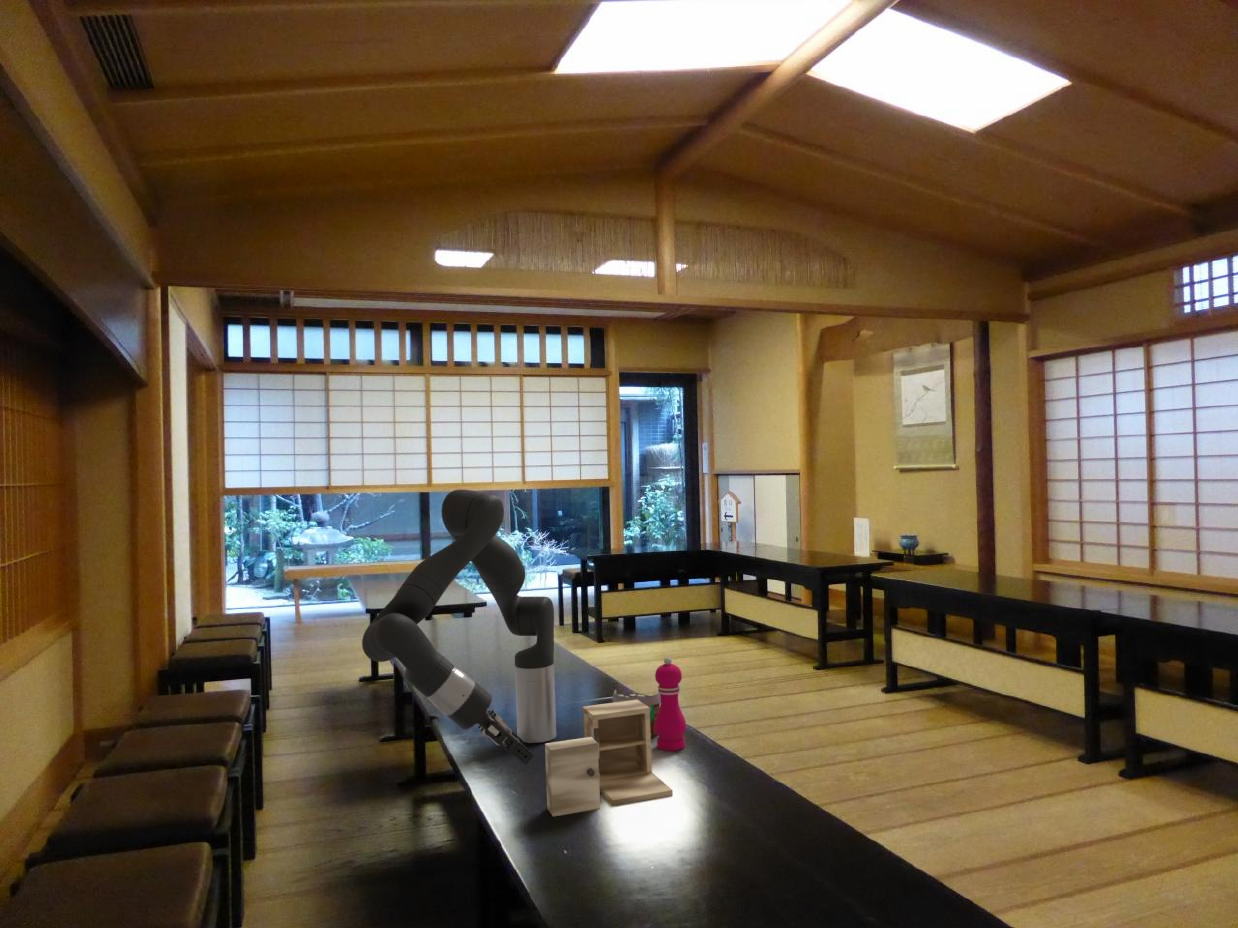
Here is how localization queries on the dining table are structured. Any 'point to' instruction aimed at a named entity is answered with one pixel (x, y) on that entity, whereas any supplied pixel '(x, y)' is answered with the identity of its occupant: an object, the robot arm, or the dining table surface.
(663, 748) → the pepper mill
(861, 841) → the dining table surface
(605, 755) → the cabinet
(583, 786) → the door
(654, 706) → the food container
